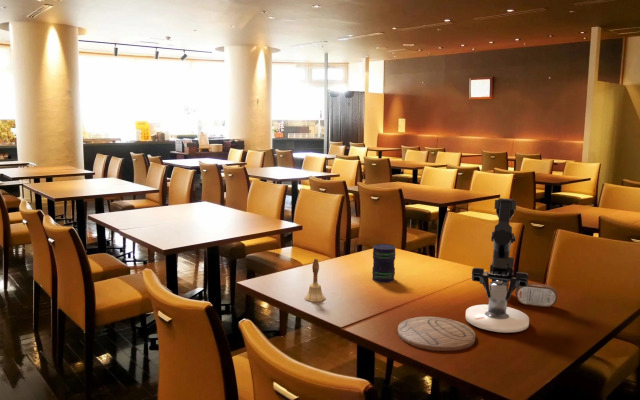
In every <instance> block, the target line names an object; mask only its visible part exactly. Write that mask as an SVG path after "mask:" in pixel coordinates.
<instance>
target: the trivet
mask: <svg viewBox="0 0 640 400" xmlns="http://www.w3.org/2000/svg"><path fill="white" fill-rule="evenodd" d="M397 335H398V338H399V339H400V340H402V341H403V342H404V343H406V344H408V345H409V344H410V345H409V346H412V347H416V348H418V349H421V350H425V349H426V350H425V351H430V350H431V351H433V352H439V351H452V352H458V351H457V350H460V351H463V350H466V348H467V349H469V348H470V347H472V346H473V345H474V344H475V342H476V332H475V331H474V329H472V327H470V326H469V325H468V324H465V323H462V322H460V321H457V320H454V319H450V318H446V317H441V316H440V317H438V316H418V317H416V316H415V317H411V318H407V319H405V320H402V321H401V322H400V323H399V324H398V326H397ZM462 349H463V350H462Z"/></svg>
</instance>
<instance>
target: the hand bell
mask: <svg viewBox="0 0 640 400" xmlns="http://www.w3.org/2000/svg"><path fill="white" fill-rule="evenodd" d="M311 268H312V273H313V274H312V275H313V280H312V283H311V284H310V285H309V288H308V292H307V294H306V295H305V296H304V300H305V301H307V302H312V303H316V302H318V303H319V302H323V301H326V296H325V295H324V294H323V292H322V286H321V284H319V283H318V282H319V281H318V274H319V270H320V264H319V260H318V258H314V259H313V261H312V267H311Z"/></svg>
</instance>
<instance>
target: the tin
mask: <svg viewBox="0 0 640 400" xmlns="http://www.w3.org/2000/svg"><path fill="white" fill-rule="evenodd" d="M514 291H515V298H516V299H517V301H518V302H519V303H520V304H522V305H526V306H533V307H542V308H551V307H553V306H554V305H556V303H558V302H557V301H558V292H557V290H556V289H555V288H554V287H553V286H552V285H549V284H541V283H533V282H528V285H527V287H521V286H519V288H515V290H514Z"/></svg>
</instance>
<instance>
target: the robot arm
mask: <svg viewBox="0 0 640 400" xmlns="http://www.w3.org/2000/svg"><path fill="white" fill-rule="evenodd" d="M517 203H518V202H517V201H516V200H514V198H500V197H499V198H497V199H495V200H494V210H495V214H496V216H497V218H498V222H497V224H495V225H494V229H493V231H491V236H490V237H491V240H490V241H491V242H492V243H493V247H492V248H493V251H492V263H491V264H490V267H489V272H488V271H485V268H484V267H483V268H481V267H473V268H472V269H471V281H473V282H477V283H478V282H479V284H481V285H482V286H483V287H484V290H485V293H486V296H487V299H489V291H490V283H489V280H491V282H492V281H496V280H497V279H499V280H503V282H505V283H507V284H508V295H507V301H509V300H510V298H511V296H512V294H513V293H514V291H516V288H519V286H521V287H527V285H528V283H529V274H528V273H527V272H524V271H523V272H522V271H521V272H520V271H516V275H515V273H514V272H515V270H514V269H513V268H514V263H515V257H511V256H510V254H511V245H512V244H514V242H516V236H515V233H513V227H512V226H511V225H510V221H511V220H512V218H513V216H514V215H515V211H517Z"/></svg>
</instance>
